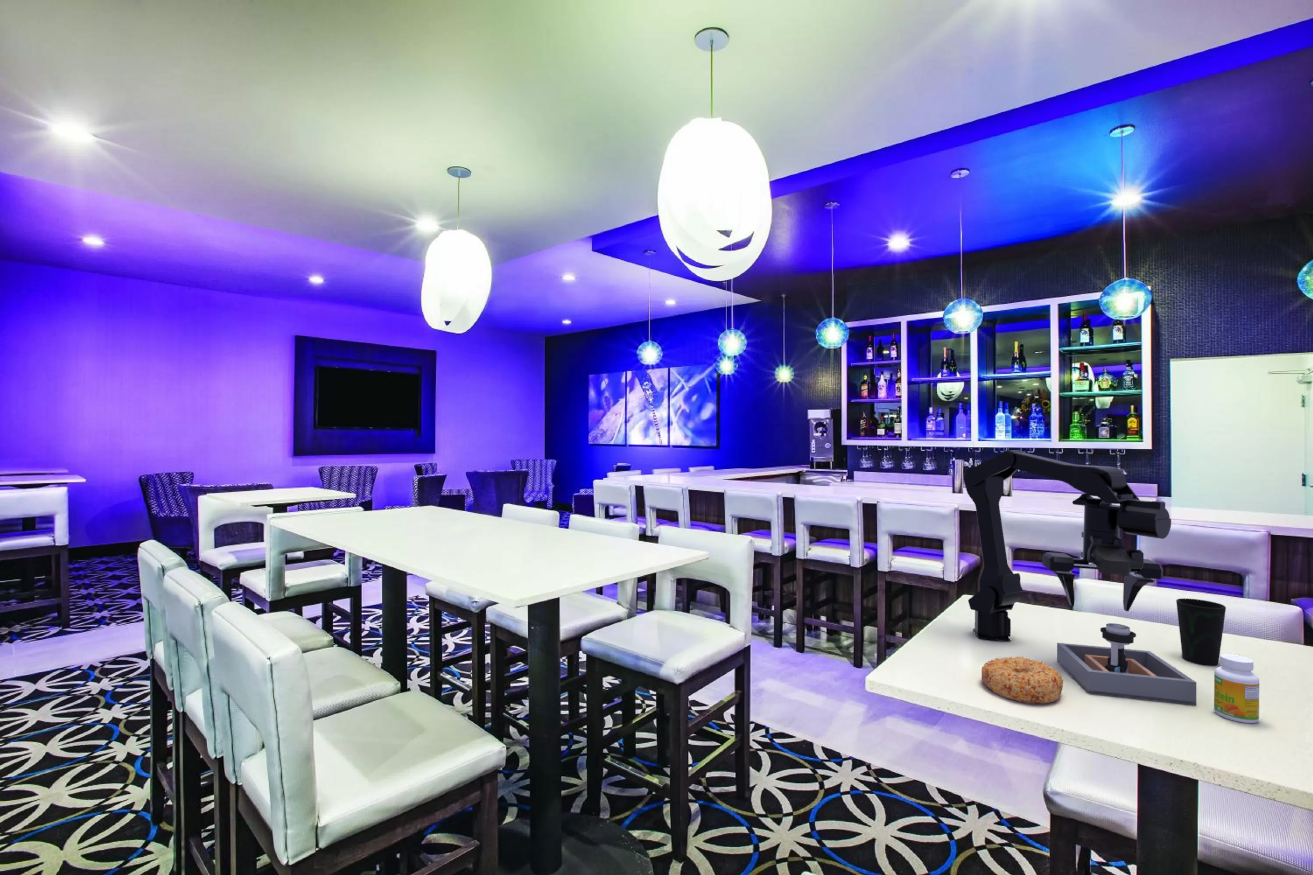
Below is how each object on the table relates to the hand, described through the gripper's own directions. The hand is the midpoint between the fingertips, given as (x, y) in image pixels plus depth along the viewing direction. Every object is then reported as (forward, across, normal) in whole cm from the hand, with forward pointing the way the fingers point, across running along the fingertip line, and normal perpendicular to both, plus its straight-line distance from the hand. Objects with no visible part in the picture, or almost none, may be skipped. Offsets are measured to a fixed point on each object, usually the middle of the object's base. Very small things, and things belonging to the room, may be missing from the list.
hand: (1098, 608), depth 120 cm
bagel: (+13, -17, -16) cm, 27 cm away
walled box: (+12, +2, -6) cm, 14 cm away
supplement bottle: (+12, +14, -17) cm, 25 cm away
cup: (+12, +23, +12) cm, 29 cm away
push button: (+12, +2, -6) cm, 13 cm away
